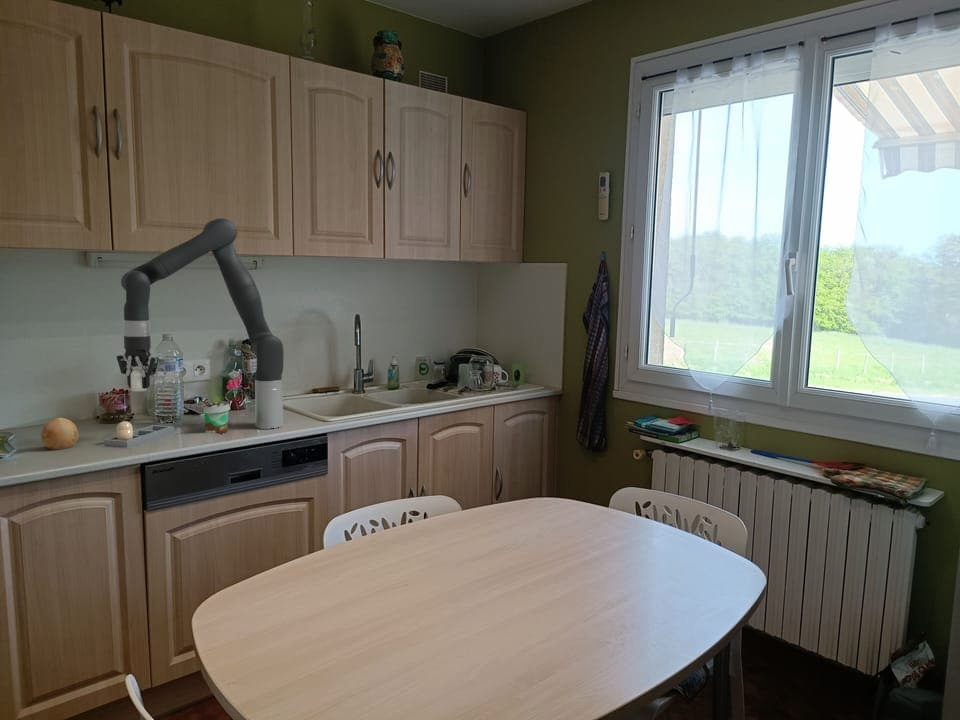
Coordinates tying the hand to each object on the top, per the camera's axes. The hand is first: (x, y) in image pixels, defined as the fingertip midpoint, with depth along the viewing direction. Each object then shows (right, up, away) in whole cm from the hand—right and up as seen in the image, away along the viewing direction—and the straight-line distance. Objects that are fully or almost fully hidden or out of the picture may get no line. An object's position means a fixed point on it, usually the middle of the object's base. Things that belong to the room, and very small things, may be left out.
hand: (138, 387), depth 213 cm
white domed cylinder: (0, -1, 0) cm, 1 cm away
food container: (+20, -16, +16) cm, 31 cm away
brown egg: (-2, -17, -5) cm, 18 cm away
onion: (-18, -19, -10) cm, 28 cm away
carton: (-1, -18, +2) cm, 18 cm away
